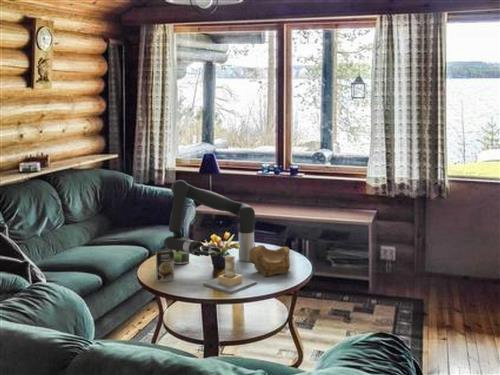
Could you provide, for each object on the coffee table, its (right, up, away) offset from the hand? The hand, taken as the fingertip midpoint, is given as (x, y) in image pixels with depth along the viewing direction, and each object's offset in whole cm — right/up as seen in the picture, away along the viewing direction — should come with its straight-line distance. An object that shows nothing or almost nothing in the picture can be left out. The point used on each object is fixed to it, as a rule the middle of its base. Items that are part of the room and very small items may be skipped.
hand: (214, 252), depth 300 cm
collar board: (+9, -16, -5) cm, 19 cm away
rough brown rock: (+30, -13, +12) cm, 35 cm away
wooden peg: (+9, -15, -5) cm, 18 cm away
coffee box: (-26, -15, +3) cm, 31 cm away
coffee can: (-22, -10, +32) cm, 40 cm away
